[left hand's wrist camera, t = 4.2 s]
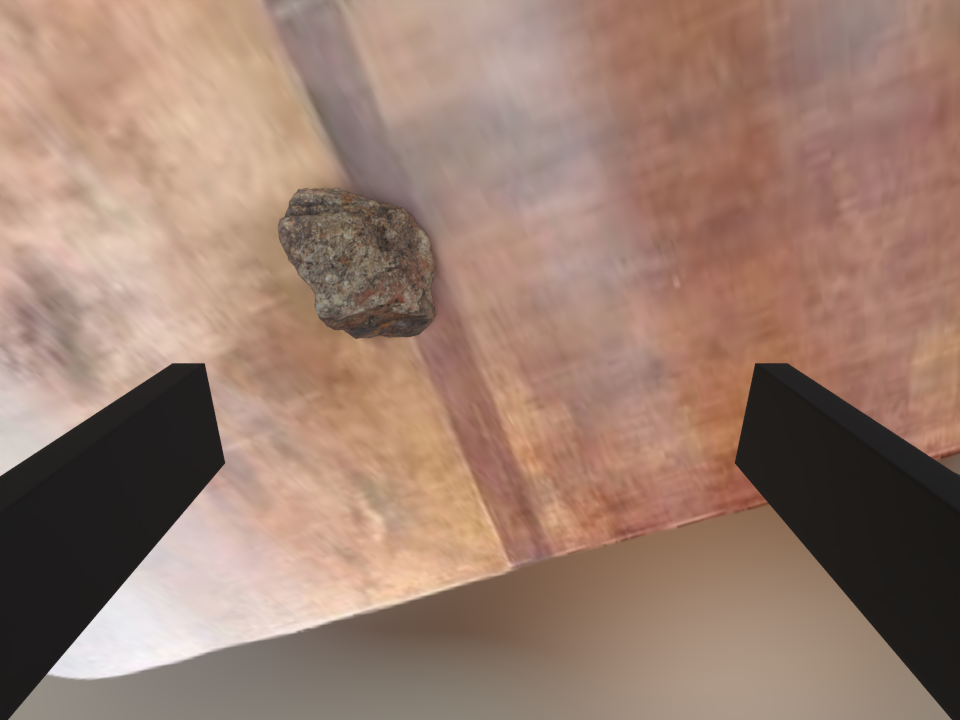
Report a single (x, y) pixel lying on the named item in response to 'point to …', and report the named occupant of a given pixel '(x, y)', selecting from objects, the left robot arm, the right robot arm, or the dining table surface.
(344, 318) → the rock
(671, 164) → the dining table surface
